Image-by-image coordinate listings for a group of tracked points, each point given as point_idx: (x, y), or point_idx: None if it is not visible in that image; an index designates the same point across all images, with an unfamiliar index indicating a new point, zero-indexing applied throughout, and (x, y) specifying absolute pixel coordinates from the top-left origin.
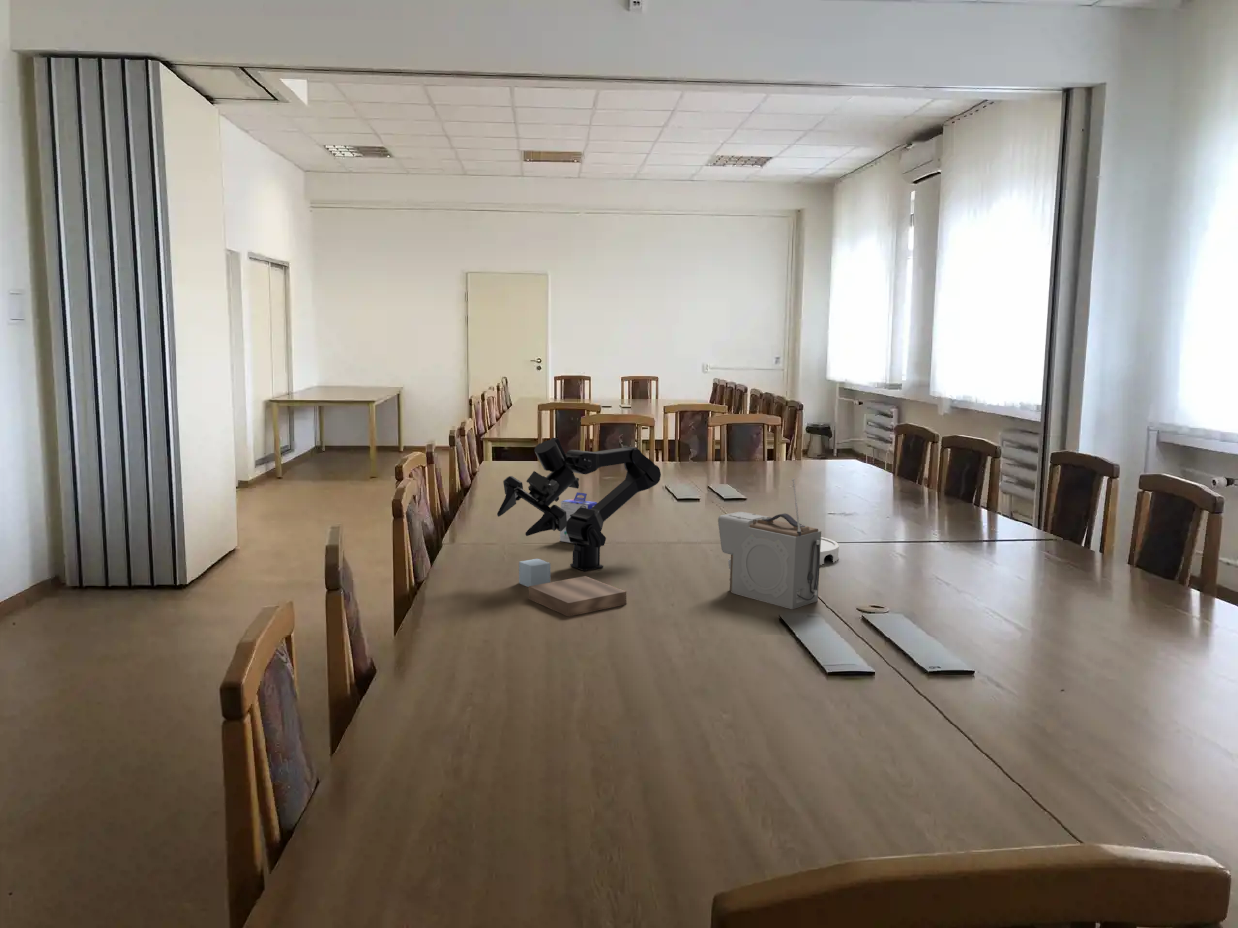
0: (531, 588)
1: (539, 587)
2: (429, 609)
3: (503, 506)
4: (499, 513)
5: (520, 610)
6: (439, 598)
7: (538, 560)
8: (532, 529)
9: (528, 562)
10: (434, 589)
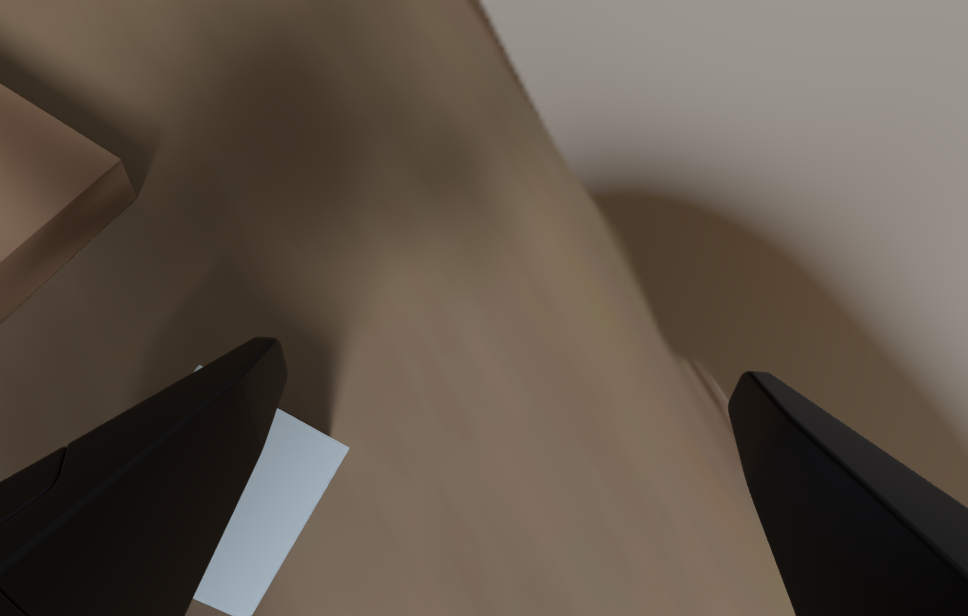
0: (92, 144)
1: (27, 146)
2: (462, 19)
3: (849, 457)
4: (750, 383)
5: (102, 24)
6: (505, 130)
7: (216, 561)
8: (180, 383)
9: (271, 458)
10: (580, 223)
